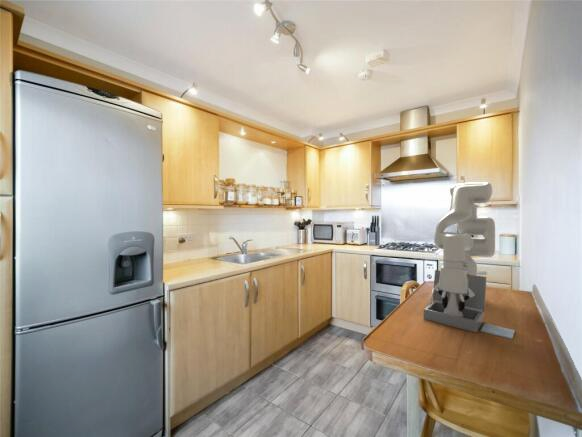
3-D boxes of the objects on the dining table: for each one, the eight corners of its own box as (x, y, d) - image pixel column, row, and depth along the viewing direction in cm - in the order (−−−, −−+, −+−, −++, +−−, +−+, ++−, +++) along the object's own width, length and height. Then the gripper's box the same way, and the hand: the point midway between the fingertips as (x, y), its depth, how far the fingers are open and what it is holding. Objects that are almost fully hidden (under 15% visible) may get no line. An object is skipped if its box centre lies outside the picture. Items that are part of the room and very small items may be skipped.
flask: (441, 315, 108) (441, 291, 108) (445, 310, 113) (445, 287, 113) (461, 320, 103) (462, 295, 103) (465, 315, 108) (465, 291, 108)
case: (434, 309, 119) (434, 299, 119) (483, 321, 107) (483, 309, 107) (423, 318, 109) (423, 307, 109) (476, 332, 96) (476, 319, 96)
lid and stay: (434, 301, 122) (434, 269, 122) (485, 312, 108) (486, 276, 108) (428, 306, 115) (428, 272, 115) (482, 318, 102) (482, 280, 102)
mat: (484, 324, 104) (484, 323, 104) (514, 331, 97) (514, 330, 97) (480, 331, 97) (480, 330, 97) (512, 339, 91) (512, 338, 91)
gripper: (480, 266, 104) (480, 311, 105) (433, 260, 116) (433, 301, 117) (477, 269, 99) (476, 317, 99) (428, 263, 111) (427, 306, 111)
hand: (453, 308), depth 108 cm, fingers closed on flask, 4 cm apart
